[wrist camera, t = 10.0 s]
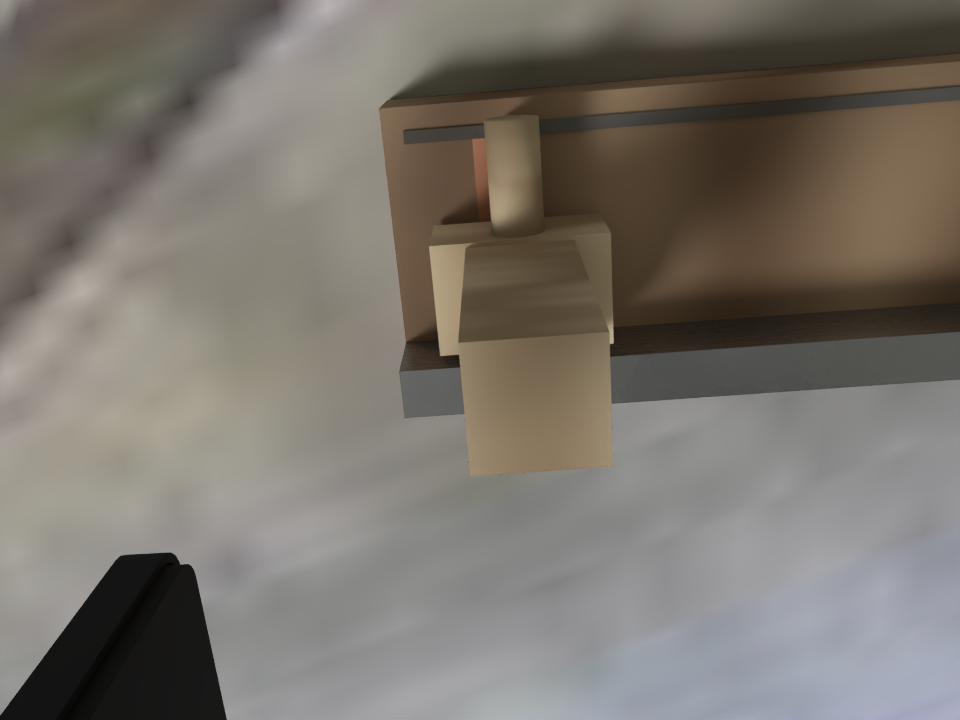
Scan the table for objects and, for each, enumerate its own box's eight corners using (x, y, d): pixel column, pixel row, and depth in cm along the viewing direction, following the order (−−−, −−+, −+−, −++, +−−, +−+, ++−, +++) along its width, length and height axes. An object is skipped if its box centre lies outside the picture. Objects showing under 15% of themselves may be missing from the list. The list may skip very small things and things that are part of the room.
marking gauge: (596, 105, 21) (659, 162, 13) (603, 315, 23) (661, 468, 15) (423, 119, 21) (389, 183, 13) (443, 326, 23) (423, 484, 15)
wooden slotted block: (1114, 40, 22) (1240, 48, 19) (1069, 310, 25) (1172, 364, 21) (387, 100, 23) (368, 118, 19) (416, 357, 25) (404, 417, 22)
